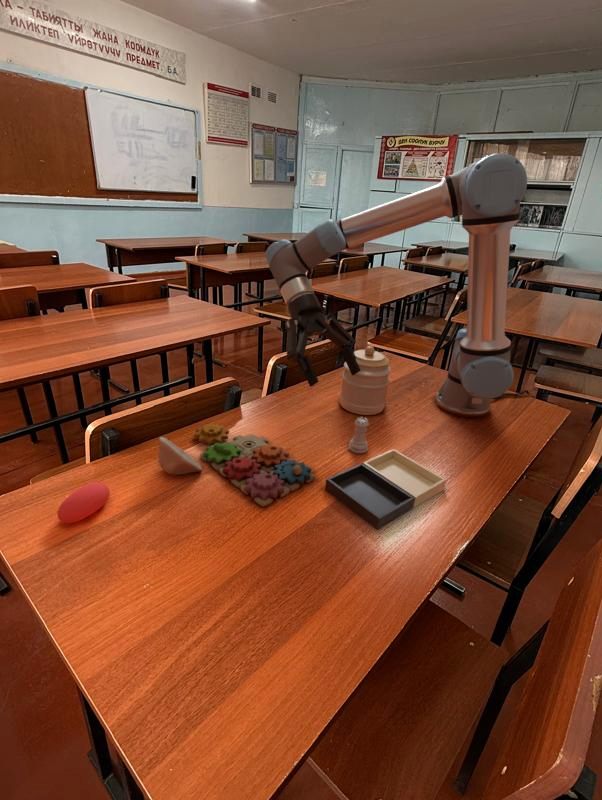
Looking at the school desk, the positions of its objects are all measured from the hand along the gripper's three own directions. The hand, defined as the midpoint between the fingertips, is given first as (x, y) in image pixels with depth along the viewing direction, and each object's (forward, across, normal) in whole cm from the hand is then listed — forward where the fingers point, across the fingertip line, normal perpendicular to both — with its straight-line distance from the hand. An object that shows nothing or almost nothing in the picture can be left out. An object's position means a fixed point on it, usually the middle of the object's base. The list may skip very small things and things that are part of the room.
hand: (336, 378), depth 103 cm
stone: (+7, +37, -14) cm, 40 cm away
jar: (+6, -18, -15) cm, 24 cm away
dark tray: (+27, +11, +6) cm, 30 cm away
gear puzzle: (+10, +24, -11) cm, 28 cm away
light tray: (+27, +1, +6) cm, 28 cm away
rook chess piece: (+17, 0, -4) cm, 18 cm away
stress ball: (+9, +56, -12) cm, 58 cm away
